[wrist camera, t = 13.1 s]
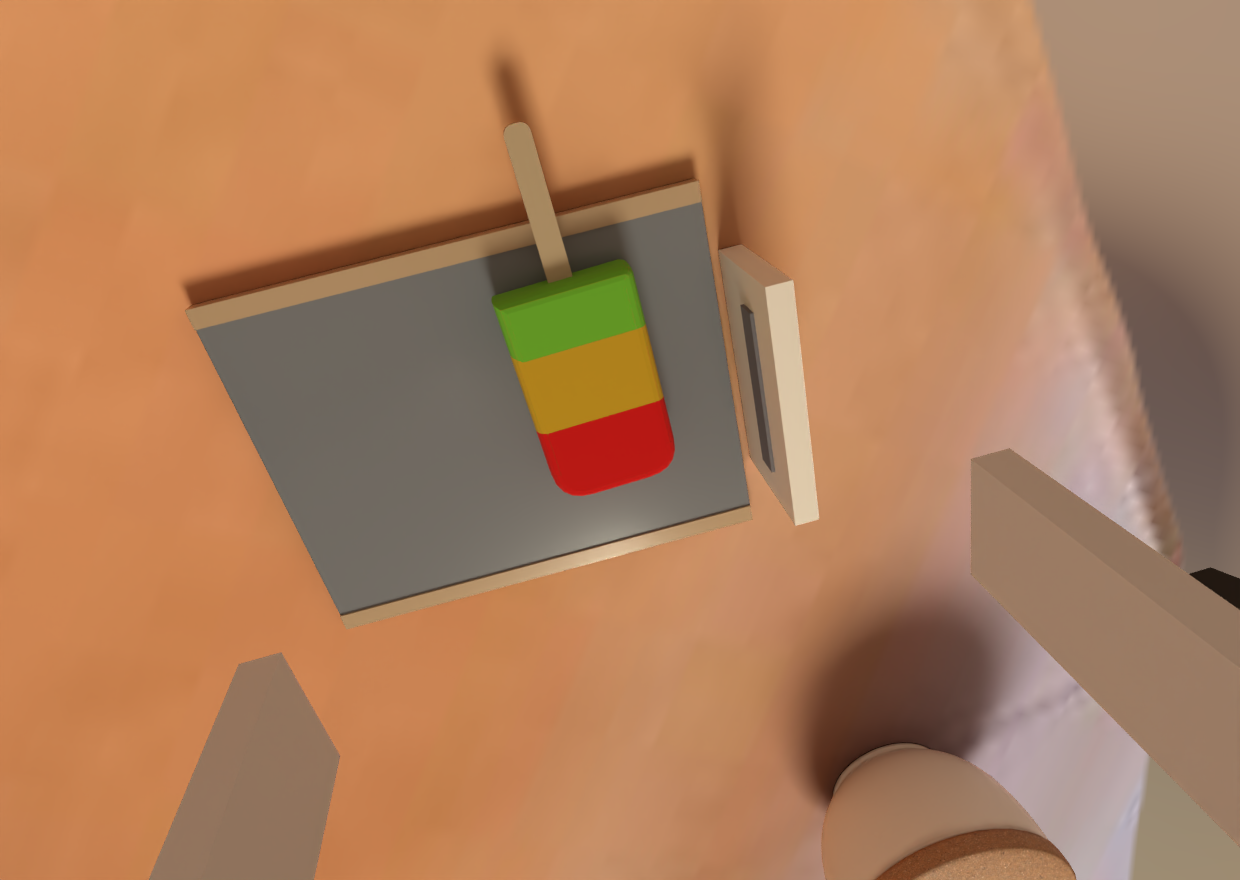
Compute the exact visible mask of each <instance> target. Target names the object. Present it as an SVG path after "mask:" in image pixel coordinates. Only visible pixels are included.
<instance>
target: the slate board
mask: <svg viewBox="0 0 1240 880" xmlns="http://www.w3.org/2000/svg"><path fill="white" fill-rule="evenodd" d="M555 216H556V220H557V223H558V227H559V230H560V234H561V237H562V241H563V244H564V248H565V251H566V255H567V258H568V262H569V265H570V269H571V272H572V273H573V272H576V271H580V270H583V269H586V268H590V267H593V266H597V265H600V264H604V263H607V262H610V261H614V260H617V259H621V260H625V261H626V262H627V263H628V264H629V265H630V267H631V268H632V271H633V274H634V278H635V282H636V286H637V290H638V294H639V298H640V302H641V306H642V310H643V314H644V318H645V323H646V327H647V331H648V335H649V339H650V343H651V347H652V351H653V355H654V359H655V363H656V367H657V371H658V375H659V379H660V384H661V388H662V392H663V396H664V400H665V404H666V408H667V412H668V416H669V420H670V424H671V428H672V432H673V436H674V444H675V452H674V457H673V460H672V461H671V463H670V464H669V466H668V467H667V468H666V469H664V470H663V471H662V472H660V473H658V474H656V475H653V476H651V477H648V478H645V479H641V480H638V481H635V482H631V483H628V484H625V485H621V486H618V487H615V488H611V489H608V490H605V491H601V492H598V493H595V494H590V495H585V496H572V495H570V494H568V493H565V492H563V491H562V490H561V489H560V488H559V487H558V486H557V485H556V483H555V481H554V479H553V477H552V475H551V472H550V469H549V467H548V464H547V461H546V458H545V455H544V452H543V449H542V446H541V443H540V440H539V438H538V435H537V432H536V429H535V426H534V423H533V420H532V417H531V414H530V412H529V409H528V406H527V403H526V400H525V397H524V394H523V391H522V388H521V386H520V383H519V380H518V377H517V374H516V371H515V368H514V365H513V362H512V360H511V357H510V354H509V351H508V348H507V345H506V342H505V339H504V336H503V333H502V331H501V328H500V325H499V322H498V319H497V316H496V313H495V310H494V307H493V304H492V296H494V295H498V294H501V293H505V292H508V291H511V290H515V289H518V288H522V287H525V286H528V285H532V284H535V283H539V282H542V281H545V280H547V278H546V274H545V271H544V268H543V264H542V261H541V258H540V255H539V251H538V248H537V245H536V241H535V238H534V235H533V232H532V228H531V225H530V222H529V220H528V221H524V222H520V223H516V224H512V225H508V226H504V227H500V228H496V229H492V230H488V231H484V232H480V233H476V234H472V235H468V236H464V237H460V238H456V239H452V240H448V241H444V242H440V243H436V244H432V245H429V246H425V247H421V248H417V249H413V250H409V251H405V252H401V253H397V254H393V255H389V256H385V257H381V258H377V259H373V260H369V261H365V262H361V263H357V264H353V265H349V266H345V267H341V268H337V269H333V270H329V271H326V272H322V273H318V274H314V275H310V276H306V277H302V278H298V279H294V280H290V281H286V282H282V283H278V284H274V285H270V286H266V287H262V288H258V289H254V290H250V291H246V292H242V293H238V294H234V295H230V296H226V297H223V298H219V299H215V300H211V301H207V302H203V303H199V304H195V305H191V306H190V307H189V308H187V309H186V310H185V312H186V314H187V316H188V318H189V320H190V322H191V324H192V326H193V328H194V330H196V331H197V333H198V335H199V337H200V339H201V341H202V343H203V345H204V347H205V349H206V351H207V353H208V355H209V357H210V359H211V361H212V363H213V365H214V367H215V369H216V371H217V373H218V375H219V377H220V379H221V381H222V382H223V384H224V386H225V388H226V390H227V392H228V394H229V396H230V398H231V400H232V402H233V404H234V406H235V408H236V410H237V412H238V414H239V416H240V418H241V420H242V422H243V424H244V426H245V428H246V430H247V432H248V434H249V436H250V438H251V440H252V442H253V444H254V446H255V448H256V450H257V451H258V453H259V455H260V457H261V459H262V461H263V463H264V465H265V467H266V469H267V471H268V473H269V475H270V477H271V479H272V481H273V483H274V485H275V487H276V489H277V491H278V493H279V495H280V497H281V499H282V501H283V503H284V505H285V507H286V509H287V511H288V513H289V515H290V517H291V519H292V520H293V522H294V524H295V526H296V528H297V530H298V532H299V534H300V536H301V538H302V540H303V542H304V544H305V546H306V548H307V550H308V552H309V554H310V556H311V558H312V560H313V562H314V564H315V566H316V568H317V570H318V572H319V574H320V576H321V578H322V580H323V582H324V584H325V586H326V588H327V590H328V591H329V593H330V595H331V597H332V599H333V601H334V603H335V605H336V607H337V609H338V611H339V613H340V615H341V616H340V617H341V619H342V621H343V623H344V625H345V627H346V629H350V628H354V627H358V626H361V625H365V624H369V623H372V622H376V621H380V620H383V619H387V618H391V617H395V616H398V615H402V614H406V613H409V612H413V611H417V610H420V609H424V608H428V607H432V606H435V605H439V604H443V603H446V602H450V601H454V600H457V599H461V598H465V597H469V596H472V595H476V594H480V593H483V592H487V591H491V590H494V589H498V588H502V587H505V586H509V585H513V584H517V583H520V582H524V581H528V580H531V579H535V578H539V577H542V576H546V575H550V574H554V573H557V572H561V571H565V570H568V569H572V568H576V567H579V566H583V565H587V564H591V563H594V562H598V561H602V560H605V559H609V558H613V557H616V556H620V555H624V554H627V553H631V552H635V551H639V550H642V549H646V548H650V547H653V546H657V545H661V544H664V543H668V542H672V541H676V540H679V539H683V538H687V537H690V536H694V535H698V534H701V533H705V532H709V531H713V530H716V529H720V528H724V527H727V526H731V525H735V524H738V523H742V522H746V521H749V520H753V519H752V512H751V506H750V503H749V496H748V490H747V484H746V478H745V471H744V465H743V459H742V452H741V446H740V440H739V434H738V427H737V421H736V415H735V409H734V402H733V396H732V390H731V383H730V377H729V371H728V365H727V358H726V352H725V346H724V340H723V333H722V327H721V321H720V314H719V308H718V302H717V296H716V289H715V283H714V277H713V271H712V264H711V258H710V252H709V245H708V239H707V233H706V227H705V220H704V214H703V208H702V198H701V192H700V185H699V181H698V180H697V179H695V178H694V179H690V180H686V181H682V182H678V183H674V184H670V185H666V186H662V187H658V188H654V189H650V190H646V191H642V192H638V193H635V194H631V195H627V196H623V197H619V198H615V199H611V200H607V201H603V202H599V203H595V204H591V205H587V206H583V207H579V208H575V209H571V210H567V211H563V212H559V213H555Z"/></svg>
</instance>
